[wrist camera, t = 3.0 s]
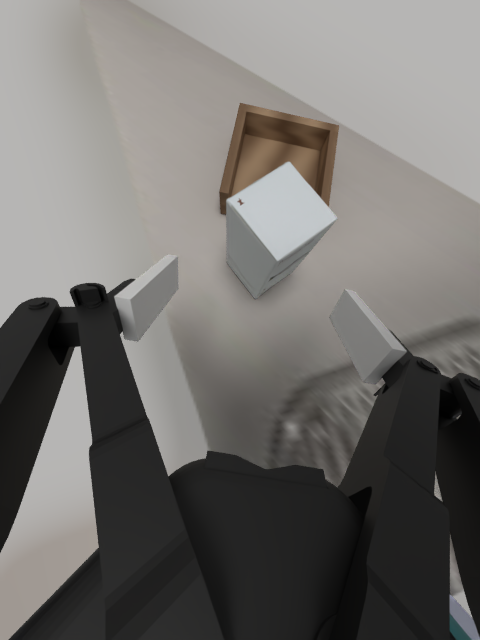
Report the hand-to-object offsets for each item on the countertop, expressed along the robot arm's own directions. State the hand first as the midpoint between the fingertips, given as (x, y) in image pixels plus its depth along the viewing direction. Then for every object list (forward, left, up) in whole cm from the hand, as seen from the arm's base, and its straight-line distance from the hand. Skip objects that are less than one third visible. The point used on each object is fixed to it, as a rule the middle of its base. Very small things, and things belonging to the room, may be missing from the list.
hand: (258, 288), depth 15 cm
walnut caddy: (-1, -23, -13) cm, 26 cm away
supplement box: (-1, -8, -13) cm, 15 cm away
